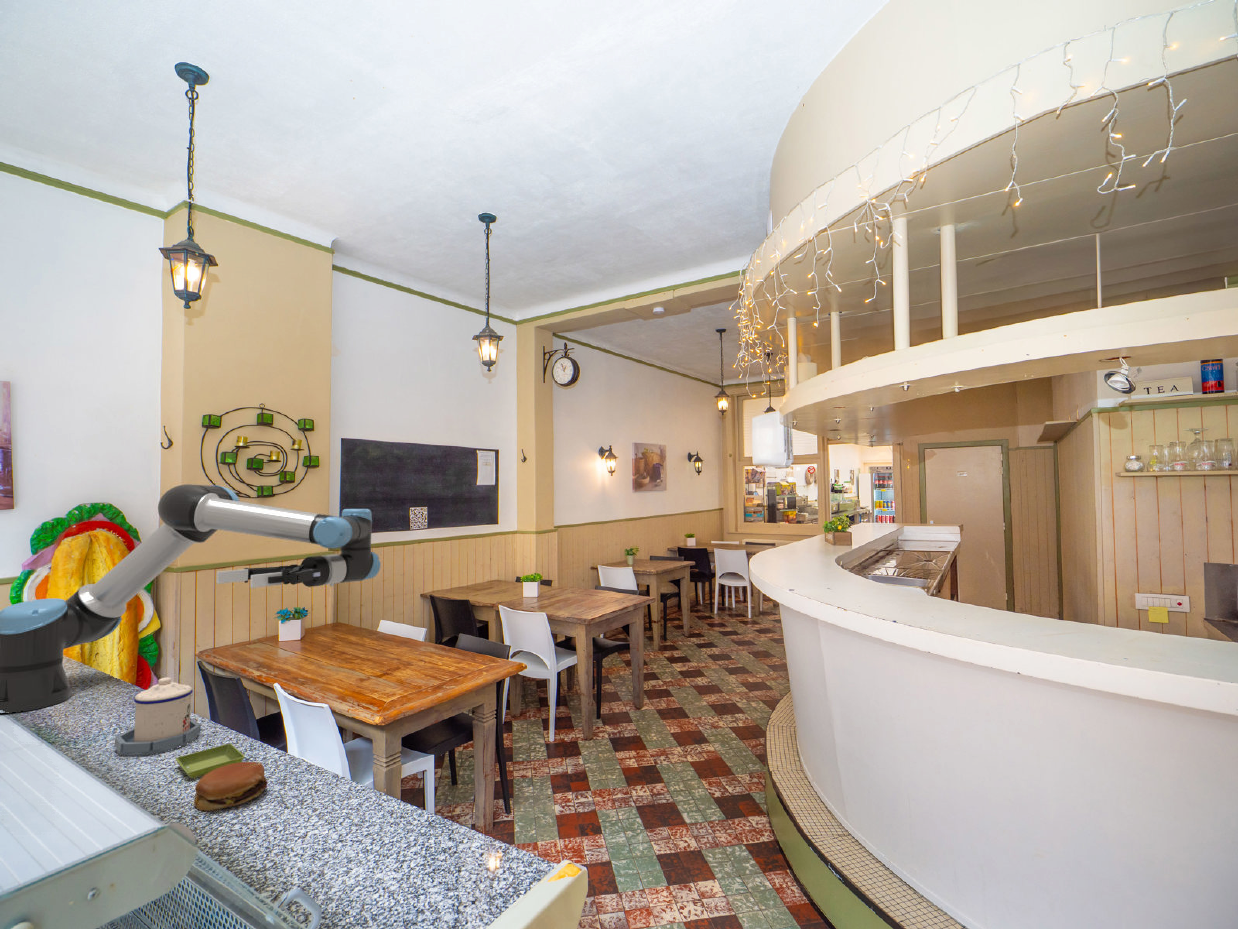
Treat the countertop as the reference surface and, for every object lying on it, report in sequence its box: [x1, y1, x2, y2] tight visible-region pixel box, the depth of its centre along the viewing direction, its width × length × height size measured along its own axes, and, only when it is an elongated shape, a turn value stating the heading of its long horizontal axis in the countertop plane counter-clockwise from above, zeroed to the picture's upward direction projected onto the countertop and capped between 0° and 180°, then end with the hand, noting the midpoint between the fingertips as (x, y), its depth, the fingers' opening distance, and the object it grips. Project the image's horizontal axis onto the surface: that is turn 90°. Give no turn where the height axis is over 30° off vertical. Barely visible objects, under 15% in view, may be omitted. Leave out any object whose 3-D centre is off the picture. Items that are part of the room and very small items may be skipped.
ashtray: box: [114, 718, 202, 757], centre depth 116 cm, size 13×13×2 cm
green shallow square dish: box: [175, 742, 245, 780], centre depth 105 cm, size 9×9×2 cm
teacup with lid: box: [133, 677, 194, 742], centre depth 116 cm, size 12×9×12 cm
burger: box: [193, 761, 268, 812], centre depth 94 cm, size 10×9×5 cm
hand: (233, 579), depth 131 cm, fingers open, 13 cm apart
